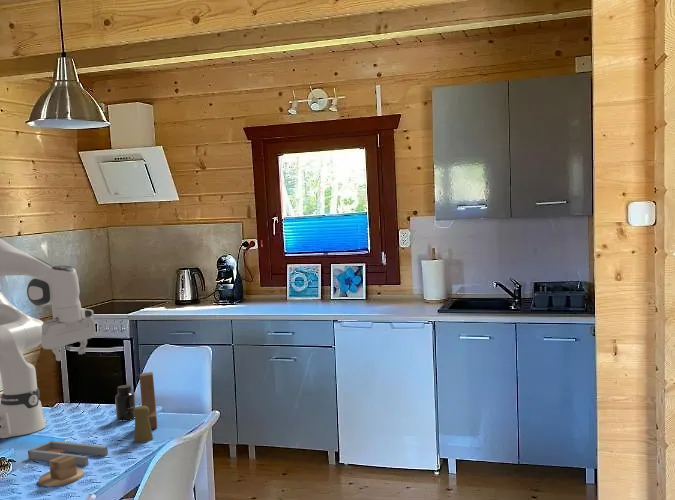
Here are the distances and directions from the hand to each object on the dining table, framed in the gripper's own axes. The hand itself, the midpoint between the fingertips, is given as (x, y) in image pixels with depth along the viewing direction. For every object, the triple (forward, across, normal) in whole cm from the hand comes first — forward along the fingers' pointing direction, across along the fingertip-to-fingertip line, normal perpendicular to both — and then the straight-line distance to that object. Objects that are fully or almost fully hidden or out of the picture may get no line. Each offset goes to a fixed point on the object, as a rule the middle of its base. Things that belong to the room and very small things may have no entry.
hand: (71, 357), depth 223 cm
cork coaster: (+29, -25, -18) cm, 42 cm away
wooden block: (+29, +20, -13) cm, 38 cm away
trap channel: (+29, -11, -6) cm, 31 cm away
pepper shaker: (+29, +8, -20) cm, 36 cm away
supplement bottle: (+29, +25, +2) cm, 38 cm away
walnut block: (+28, -25, -19) cm, 42 cm away
